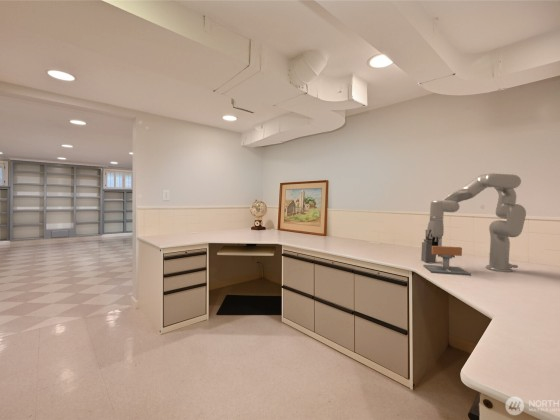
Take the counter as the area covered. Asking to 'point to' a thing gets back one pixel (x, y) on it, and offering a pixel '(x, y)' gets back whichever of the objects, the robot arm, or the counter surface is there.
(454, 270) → the post board
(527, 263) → the counter surface
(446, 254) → the orange brown block
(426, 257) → the perfume bottle
